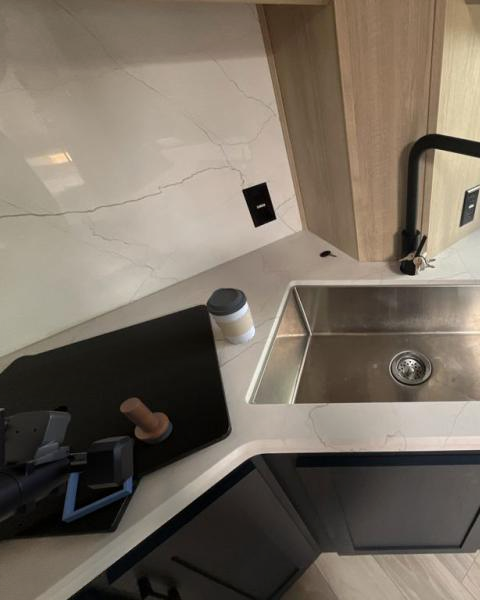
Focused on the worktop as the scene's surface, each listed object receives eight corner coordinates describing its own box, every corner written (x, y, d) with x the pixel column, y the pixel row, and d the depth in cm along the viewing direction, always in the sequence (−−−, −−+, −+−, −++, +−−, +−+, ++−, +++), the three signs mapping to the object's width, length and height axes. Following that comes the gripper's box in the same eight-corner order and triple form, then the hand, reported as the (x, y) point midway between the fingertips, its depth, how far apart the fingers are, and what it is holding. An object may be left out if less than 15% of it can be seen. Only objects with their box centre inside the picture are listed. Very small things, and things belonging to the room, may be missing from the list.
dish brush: (144, 452, 65) (110, 424, 57) (144, 429, 68) (112, 399, 60) (176, 439, 67) (147, 410, 59) (174, 417, 70) (147, 386, 62)
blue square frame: (71, 524, 56) (61, 520, 54) (78, 474, 61) (69, 469, 60) (134, 494, 59) (127, 490, 57) (135, 450, 65) (128, 445, 63)
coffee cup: (266, 335, 88) (250, 295, 78) (234, 355, 83) (213, 314, 73) (249, 319, 92) (232, 278, 82) (218, 336, 87) (196, 295, 77)
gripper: (81, 417, 39) (162, 389, 54) (-100, 435, 36) (38, 400, 52) (83, 513, 38) (164, 457, 53) (-101, 537, 36) (39, 471, 51)
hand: (102, 444), depth 53 cm, fingers open, 9 cm apart
